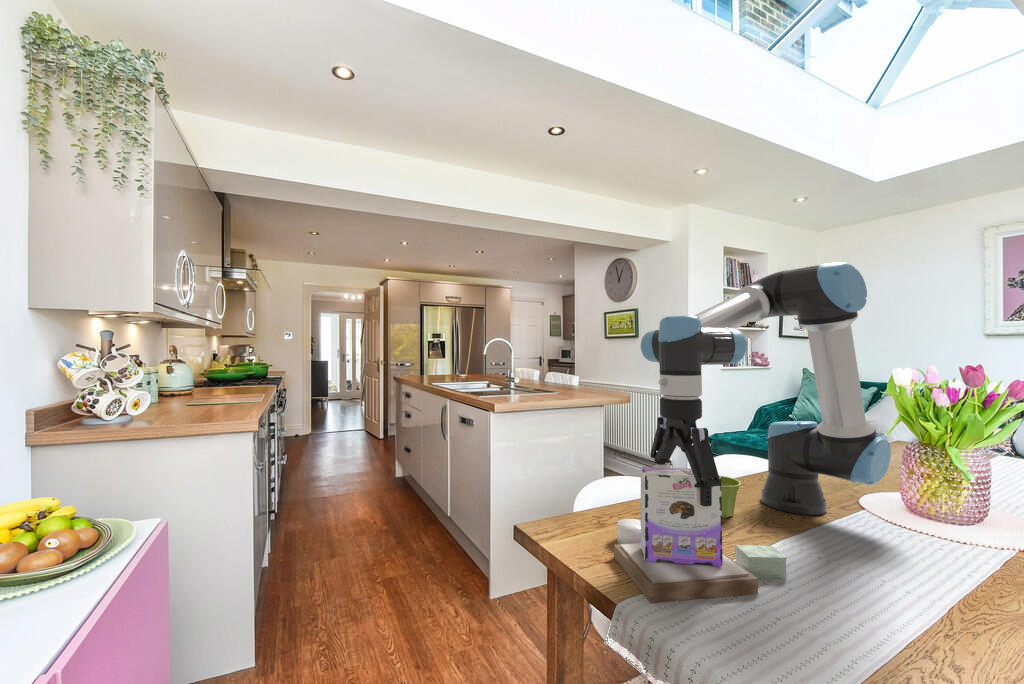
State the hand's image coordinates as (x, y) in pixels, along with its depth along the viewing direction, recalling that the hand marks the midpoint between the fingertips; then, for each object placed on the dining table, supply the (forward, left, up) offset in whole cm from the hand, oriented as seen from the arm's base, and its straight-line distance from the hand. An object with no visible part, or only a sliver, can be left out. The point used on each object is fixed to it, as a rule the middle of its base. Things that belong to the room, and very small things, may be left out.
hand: (681, 508), depth 82 cm
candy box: (0, 0, -9) cm, 9 cm away
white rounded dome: (+3, -14, -12) cm, 19 cm away
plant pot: (-27, -27, -13) cm, 40 cm away
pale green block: (-16, +1, -13) cm, 20 cm away
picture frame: (0, 0, -12) cm, 12 cm away
